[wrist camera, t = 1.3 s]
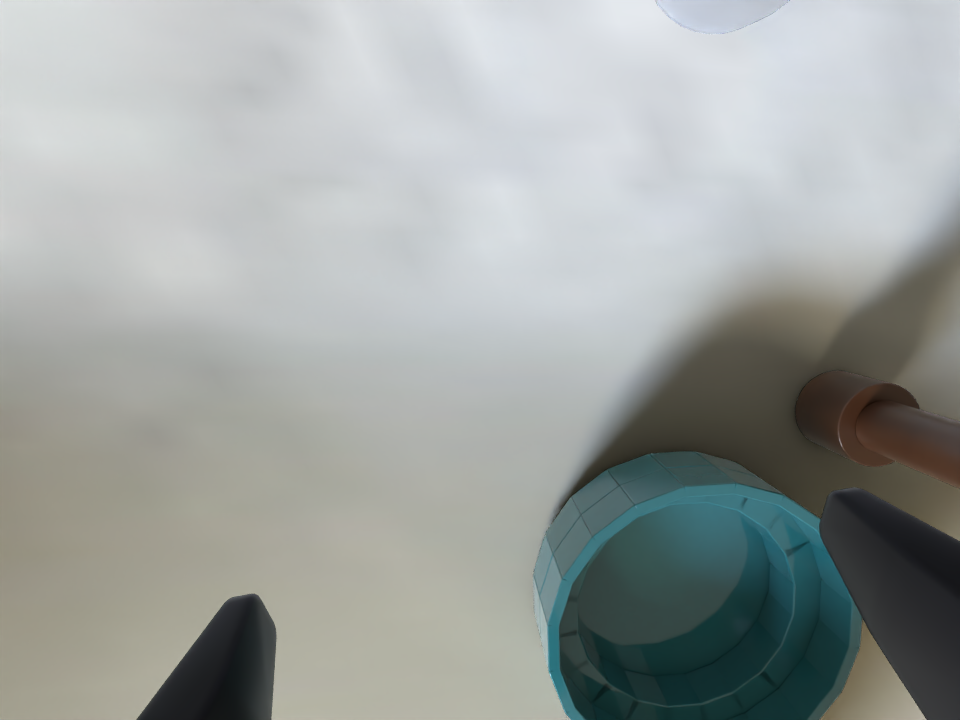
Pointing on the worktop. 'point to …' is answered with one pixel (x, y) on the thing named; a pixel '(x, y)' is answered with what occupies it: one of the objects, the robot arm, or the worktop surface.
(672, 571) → the bowl
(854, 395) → the post
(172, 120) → the worktop surface
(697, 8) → the plastic bottle
